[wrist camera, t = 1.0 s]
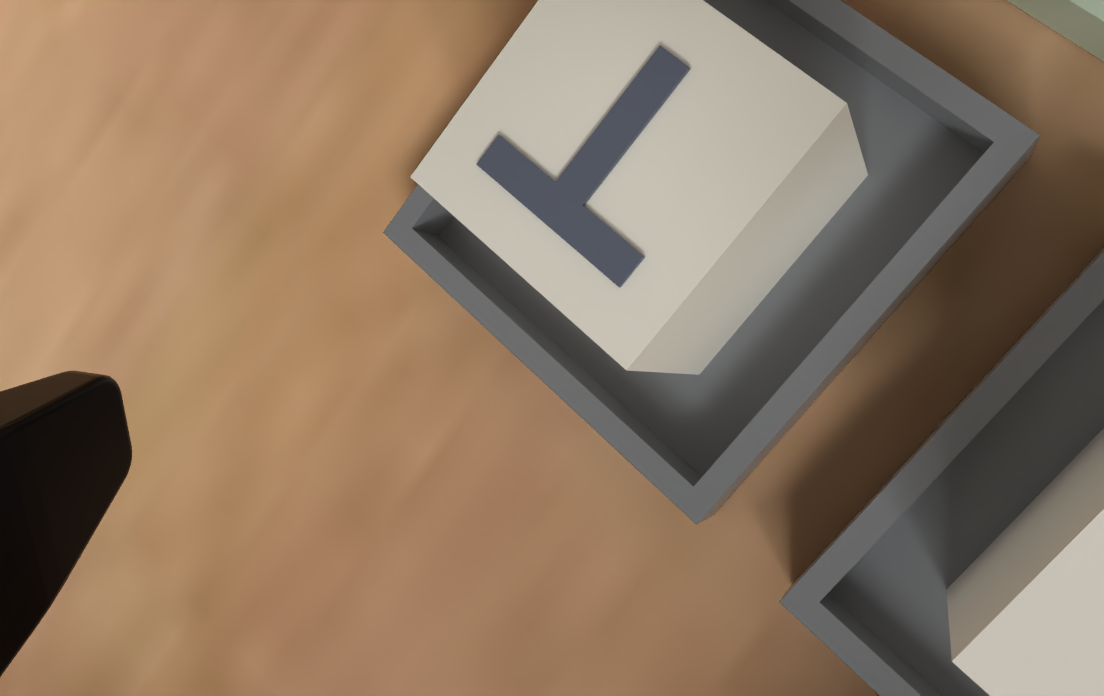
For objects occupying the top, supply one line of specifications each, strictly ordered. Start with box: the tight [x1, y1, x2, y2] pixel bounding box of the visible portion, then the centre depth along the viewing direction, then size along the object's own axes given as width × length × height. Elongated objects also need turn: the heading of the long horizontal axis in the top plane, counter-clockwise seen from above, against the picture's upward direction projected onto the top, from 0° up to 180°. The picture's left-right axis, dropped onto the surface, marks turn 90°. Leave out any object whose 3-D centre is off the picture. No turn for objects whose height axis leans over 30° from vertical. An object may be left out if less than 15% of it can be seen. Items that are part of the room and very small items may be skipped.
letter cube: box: [411, 0, 868, 375], centre depth 17 cm, size 5×5×5 cm
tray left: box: [383, 0, 1040, 525], centre depth 19 cm, size 9×9×2 cm
